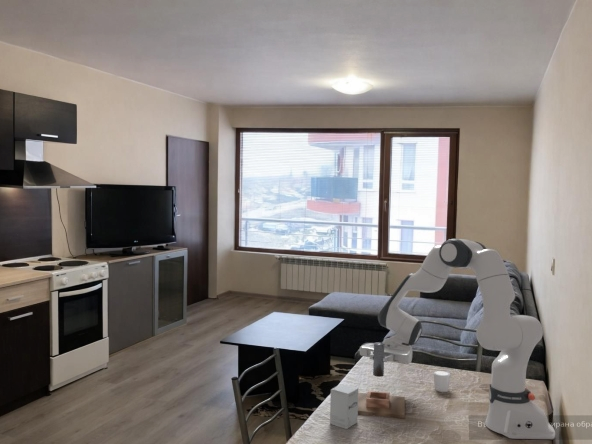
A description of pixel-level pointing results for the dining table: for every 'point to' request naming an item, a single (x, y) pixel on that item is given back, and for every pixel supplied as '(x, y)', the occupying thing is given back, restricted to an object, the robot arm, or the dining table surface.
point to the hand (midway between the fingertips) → (377, 358)
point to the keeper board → (381, 404)
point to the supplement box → (344, 406)
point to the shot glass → (441, 381)
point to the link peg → (378, 359)
